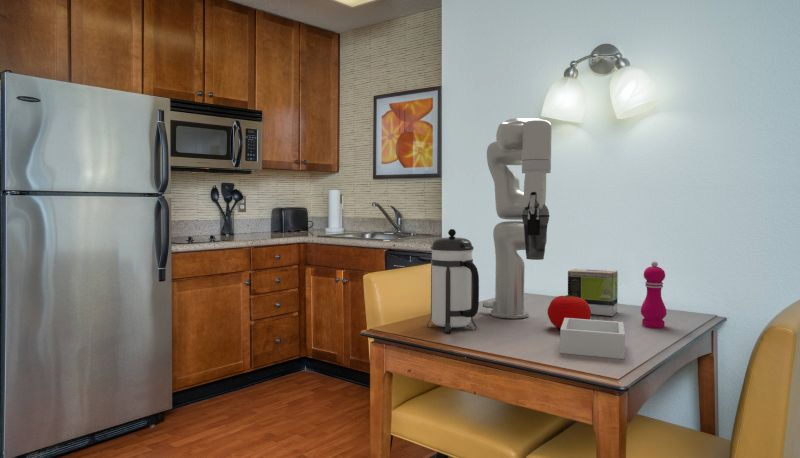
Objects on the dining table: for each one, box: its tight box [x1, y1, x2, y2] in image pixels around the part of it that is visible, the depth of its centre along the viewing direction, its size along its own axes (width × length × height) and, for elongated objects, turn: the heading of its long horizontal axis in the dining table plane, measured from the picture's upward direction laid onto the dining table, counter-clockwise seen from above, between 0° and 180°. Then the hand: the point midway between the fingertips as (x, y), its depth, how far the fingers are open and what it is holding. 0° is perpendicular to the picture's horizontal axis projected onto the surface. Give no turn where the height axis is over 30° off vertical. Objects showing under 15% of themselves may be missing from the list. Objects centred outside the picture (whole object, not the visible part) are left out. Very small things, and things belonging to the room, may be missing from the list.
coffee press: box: [426, 228, 480, 334], centre depth 161 cm, size 17×16×30 cm
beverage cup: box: [522, 203, 550, 261], centre depth 145 cm, size 7×7×20 cm
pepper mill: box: [640, 261, 668, 329], centre depth 166 cm, size 7×7×20 cm
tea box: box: [567, 268, 619, 317], centre depth 188 cm, size 15×10×15 cm
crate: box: [559, 318, 626, 360], centre depth 140 cm, size 15×15×6 cm
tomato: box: [547, 293, 592, 329], centre depth 162 cm, size 11×12×10 cm
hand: (535, 233), depth 145 cm, fingers closed on beverage cup, 6 cm apart
